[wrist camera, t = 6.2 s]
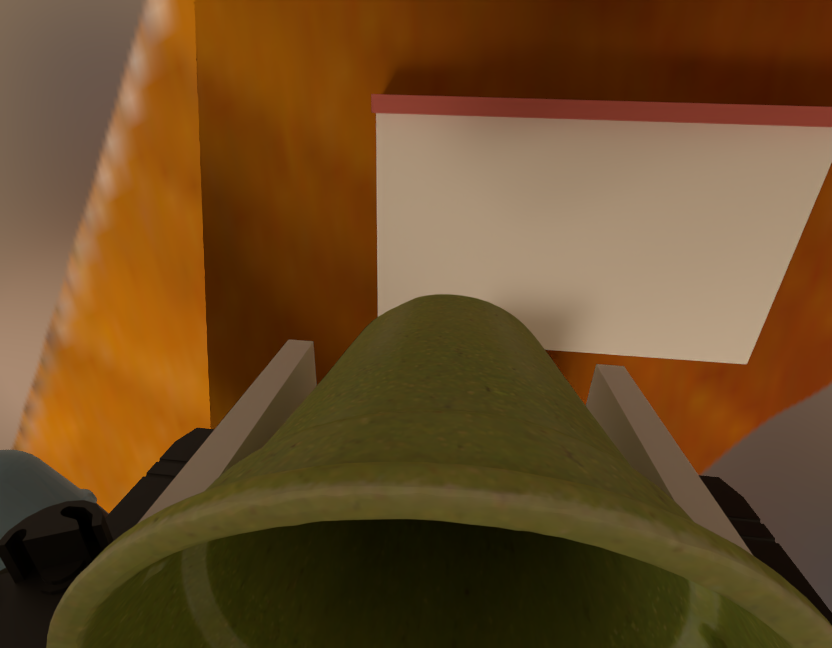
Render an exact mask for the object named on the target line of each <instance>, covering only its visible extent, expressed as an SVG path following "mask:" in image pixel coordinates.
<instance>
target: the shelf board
mask: <svg viewBox="0 0 832 648" xmlns="http://www.w3.org/2000/svg"><path fill="white" fill-rule="evenodd" d="M371 102H372V113H376V166H377V281H378V317H379V316H380V315H382V314H384V313H385V312H387V311H389V310H391V309H393V308H395V307H397V306H399V305H401V304H403V303H405V302H408V301H410V300H412V299H414V298H417V297H421V296H426V295H435V294H452V295H462V296H468V297H473V298H477V299H480V300H484V301H487V302H490V303H492V304H494V305H496V306H498V307H500V308H502V309H504V310H505V311H507V312H509V313H510V314H512V315H513V316H515V317H516V318H517V319H518V320H519V321H521V322H522V323H523V324H524V325H525V326H526V327H527V328H528V329H529V330H530V331H531V333H532V334H533V335H534V336H535V337H536V339H537V340H538V341H539V342H540V344H541V345H542V347H543V348H544V349H545V350H556V351H570V352H584V353H598V354H611V355H625V356H639V357H653V358H667V359H681V360H695V361H709V362H722V363H736V364H747V363H748V360H749V358H750V355H751V353H752V351H753V348H754V346H755V344H756V341H757V339H758V336H759V334H760V332H761V329H762V327H763V325H764V322H765V320H766V317H767V315H768V313H769V310H770V308H771V305H772V303H773V301H774V298H775V296H776V294H777V291H778V289H779V286H780V284H781V282H782V279H783V277H784V275H785V272H786V270H787V267H788V265H789V263H790V260H791V258H792V256H793V253H794V251H795V248H796V246H797V244H798V241H799V239H800V236H801V234H802V232H803V229H804V227H805V225H806V222H807V220H808V217H809V215H810V213H811V210H812V208H813V206H814V203H815V201H816V198H817V196H818V194H819V191H820V189H821V187H822V184H823V182H824V179H825V177H826V175H827V172H828V170H829V167H830V165H831V163H832V107H818V106H782V105H746V104H710V103H674V102H638V101H602V100H566V99H530V98H494V97H458V96H422V95H386V94H371Z"/></svg>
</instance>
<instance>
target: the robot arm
mask: <svg viewBox="0 0 832 648" xmlns="http://www.w3.org/2000/svg"><path fill="white" fill-rule="evenodd" d="M316 386H317V382H316V369H315V355H314V342H313V341H303V340H290V339H289V340H288V341H287V342H286V343H285V344H284V346H283V347H282V348H281V349H280V351H279V352H278V353H277V354H276V355H275V357H274V358H273V359H272V360H271V362H270V363H269V364H268V365H267V366H266V368H265V369H264V370H263V371H262V372H261V374H260V375H259V376H258V377H257V379H256V380H255V381H254V382H253V383H252V385H251V386H250V387H249V388H248V389H247V391H246V392H245V393H244V394H243V396H242V397H241V398H240V399H239V400H238V402H237V403H236V404H235V405H234V406H233V408H232V409H231V410H230V411H229V413H228V414H227V415H226V416H225V417H224V419H223V420H222V421H221V422H220V424H219V425H218V426H217V427H216V428H215V429H205V428H196V429H194V430H193V431H191V432H189V433H188V434H186V435H185V436H183V437H182V438H180V439H178V440H177V441H175V442H174V444H173V445H172V446H171V447H170V448H169V449H168V450H167V451H166V452H165V453H164V454H163V456H162V457H161V458H160V461H159V462H156V463H155V464H154V465H153V466H152V468H151V469H150V470H149V471H148V472H147V475H146V477H142V478H141V480H140V481H139V482H138V483H137V484H136V485H135V486H134V487H133V488H132V489H131V490H130V492H129V493H128V494H127V495H126V496H125V497H124V498H123V499H122V500H121V501H120V502H119V504H118V505H117V506H116V507H115V508H114V509H113V510H112V511H111V512H110V513H107V512H106V511H105V510H104V509H103V508H101V507H100V506H99V505H98V504H97V503H96V501H97V498H96V497H95V495H94V494H93V493H92V492H91V491H90V490H87V489H79V488H78V487H77V486H75V485H74V484H73V483H71V482H70V481H69V480H67V479H66V478H65V477H63V476H62V475H61V474H59V473H58V472H56V471H55V470H54V469H52V468H51V467H50V466H48V465H47V464H46V463H44V462H43V461H42V460H40V459H39V458H37V457H35V456H34V455H32V454H29V453H26V452H23V451H18V450H0V648H46V646H47V634H48V631H49V626H50V622H51V620H52V617H53V614H54V612H55V610H56V608H57V606H58V604H59V602H60V600H61V599H62V597H63V595H64V594H65V592H66V590H67V589H68V587H69V586H70V585H71V583H72V582H73V581H74V580H75V578H76V577H77V576H78V575H79V574H80V573H81V572H82V571H83V570H84V569H86V568H87V567H88V566H89V565H90V564H91V563H92V561H93V560H94V559H95V558H96V557H97V556H98V555H99V554H100V553H101V552H102V551H103V550H104V549H105V548H106V547H107V546H108V545H110V544H111V543H112V542H113V541H114V540H116V539H117V538H118V537H119V536H121V535H122V534H123V533H125V532H126V531H128V530H129V529H131V528H132V527H133V526H135V525H136V524H138V523H139V522H141V521H143V520H144V519H146V518H148V517H150V516H152V515H153V514H155V513H157V512H159V511H161V510H162V509H164V508H166V507H168V506H171V505H173V504H175V503H177V502H180V501H182V500H184V499H186V498H189V497H191V496H194V495H196V494H199V493H202V492H204V491H205V490H206V489H207V488H208V487H209V486H210V485H211V484H212V483H213V482H214V481H215V480H216V479H218V478H219V477H220V476H221V475H222V474H223V473H225V472H226V471H227V470H228V469H229V468H231V467H232V466H233V465H235V464H236V463H238V462H239V461H241V460H242V459H244V458H245V457H247V456H248V455H250V454H252V453H253V452H255V451H257V450H259V449H261V448H262V447H263V446H264V445H265V444H266V443H267V442H268V441H269V439H270V438H271V437H272V436H273V435H274V434H275V433H276V432H277V430H278V429H279V428H280V427H281V426H282V425H283V424H284V422H285V421H286V420H287V419H288V418H289V417H290V416H291V415H292V413H293V412H294V411H295V410H296V409H297V408H298V407H299V405H300V404H301V403H302V402H303V401H304V400H305V399H306V398H307V396H308V395H309V394H310V393H311V392H312V391H313V390H314V388H315V387H316ZM586 407H587V408H588V410H589V411H590V412H591V414H592V415H593V416H594V418H595V419H596V420H597V422H598V423H599V424H600V426H601V427H602V428H603V430H604V431H605V432H606V434H607V435H608V436H609V438H610V439H611V440H612V442H613V443H614V444H615V446H616V447H617V448H618V450H619V451H620V452H621V453H622V455H623V456H624V457H625V459H626V460H627V461H628V463H629V464H630V465H631V467H632V468H633V469H635V470H636V471H638V472H639V473H641V474H642V475H643V476H645V477H646V478H647V479H649V480H650V481H652V482H653V483H654V484H656V485H657V486H658V487H659V488H660V489H662V490H663V491H664V492H665V493H666V494H667V495H668V496H669V497H670V498H671V499H673V500H674V501H675V502H676V503H677V504H678V505H679V506H680V507H681V508H682V509H683V510H684V511H685V512H686V513H687V515H688V516H689V517H690V518H691V519H692V520H693V521H694V522H695V523H697V524H699V525H701V526H702V527H704V528H706V529H708V530H710V531H712V532H714V533H715V534H717V535H719V536H721V537H723V538H725V539H727V540H729V541H730V542H732V543H734V544H736V545H738V546H740V547H741V548H743V549H744V550H746V551H747V552H749V553H750V554H751V555H753V556H754V557H756V558H757V559H759V560H760V561H762V562H763V563H765V564H766V565H767V566H769V567H770V568H771V569H773V570H774V571H776V572H777V573H778V574H780V575H781V576H782V577H783V578H784V579H785V580H787V581H788V582H789V583H790V584H791V585H792V586H794V587H795V588H796V589H797V590H798V591H799V592H800V593H802V594H803V595H804V596H805V597H806V598H807V599H808V600H809V601H810V602H811V603H812V604H813V605H814V606H815V607H816V608H817V609H818V610H819V612H820V613H821V614H822V615H823V616H824V617H825V618H826V619H827V620H828V621H829V623H830V624H831V625H832V612H831V611H830V610H829V609H828V607H827V606H826V605H825V603H824V602H823V601H822V599H821V598H820V597H819V596H818V594H817V593H816V592H815V590H814V589H813V588H812V586H811V585H810V584H809V582H808V581H807V580H806V579H805V577H804V576H803V575H802V573H801V572H800V571H799V569H798V568H797V567H796V565H795V564H794V563H793V562H792V560H791V559H790V558H789V556H788V555H787V554H786V552H785V551H784V550H783V548H782V547H781V546H780V545H779V544H778V543H775V538H774V537H773V535H772V534H771V533H770V531H769V530H768V529H767V528H766V526H765V525H764V524H761V523H760V518H759V517H758V516H757V515H756V513H755V512H754V511H753V509H752V508H751V507H750V506H749V504H748V503H747V501H746V500H745V499H744V497H742V496H741V495H740V494H738V493H737V492H736V491H735V490H734V489H733V488H731V487H730V486H729V485H728V484H726V483H725V482H724V481H723V480H722V479H720V478H719V477H709V476H700V475H698V474H697V473H696V471H695V470H694V468H693V467H692V465H691V464H690V462H689V461H688V459H687V458H686V457H685V455H684V454H683V452H682V451H681V449H680V448H679V446H678V445H677V443H676V442H675V440H674V439H673V438H672V436H671V435H670V433H669V432H668V430H667V429H666V427H665V426H664V424H663V423H662V421H661V420H660V418H659V417H658V416H657V414H656V413H655V411H654V410H653V408H652V407H651V405H650V404H649V402H648V401H647V399H646V398H645V397H644V395H643V394H642V392H641V391H640V389H639V388H638V386H637V385H636V383H635V382H634V380H633V379H632V378H631V376H630V375H629V373H628V372H627V370H626V369H625V367H624V366H613V365H601V364H596V367H595V371H594V375H593V379H592V383H591V387H590V391H589V395H588V399H587V403H586Z"/></svg>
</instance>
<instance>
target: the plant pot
mask: <svg viewBox="0 0 832 648" xmlns="http://www.w3.org/2000/svg"><path fill="white" fill-rule="evenodd" d="M46 648H832V625H831V624H830V623H829V621H828V620H827V619H826V618H825V617H824V616H823V615H822V614H821V613H820V612H819V610H818V609H817V608H816V607H815V606H814V605H813V604H812V603H811V602H810V601H809V600H808V599H807V598H806V597H805V596H804V595H803V594H802V593H800V592H799V591H798V590H797V589H796V588H795V587H794V586H792V585H791V584H790V583H789V582H788V581H787V580H785V579H784V578H783V577H782V576H781V575H780V574H778V573H777V572H776V571H774V570H773V569H771V568H770V567H769V566H767V565H766V564H765V563H763V562H762V561H760V560H759V559H757V558H756V557H754V556H753V555H751V554H750V553H749V552H747V551H746V550H744V549H743V548H741V547H740V546H738V545H736V544H734V543H732V542H730V541H729V540H727V539H725V538H723V537H721V536H719V535H717V534H715V533H714V532H712V531H710V530H708V529H706V528H704V527H702V526H701V525H699V524H697V523H695V522H694V521H693V520H692V519H691V518H690V517H689V516H688V515H687V513H686V512H685V511H684V510H683V509H682V508H681V507H680V506H679V505H678V504H677V503H676V502H675V501H674V500H673V499H671V498H670V497H669V496H668V495H667V494H666V493H665V492H664V491H663V490H662V489H660V488H659V487H658V486H657V485H656V484H654V483H653V482H652V481H650V480H649V479H647V478H646V477H645V476H643V475H642V474H641V473H639V472H638V471H636V470H635V469H633V468H632V467H631V465H630V464H629V463H628V461H627V460H626V459H625V457H624V456H623V455H622V453H621V452H620V451H619V450H618V448H617V447H616V446H615V444H614V443H613V442H612V440H611V439H610V438H609V436H608V435H607V434H606V432H605V431H604V430H603V428H602V427H601V426H600V424H599V423H598V422H597V420H596V419H595V418H594V416H593V415H592V414H591V412H590V411H589V410H588V408H587V407H586V406H585V404H584V403H583V402H582V400H581V399H580V398H579V396H578V395H577V394H576V392H575V391H574V389H573V388H572V387H571V385H570V384H569V383H568V381H567V380H566V379H565V377H564V376H563V374H562V373H561V372H560V370H559V369H558V367H557V366H556V364H555V363H554V362H553V360H552V359H551V357H550V356H549V355H548V353H547V352H546V351H545V349H544V348H543V347H542V345H541V344H540V342H539V341H538V340H537V339H536V337H535V336H534V335H533V334H532V333H531V331H530V330H529V329H528V328H527V327H526V326H525V325H524V324H523V323H522V322H521V321H519V320H518V319H517V318H516V317H515V316H513V315H512V314H510V313H509V312H507V311H505V310H504V309H502V308H500V307H498V306H496V305H494V304H492V303H490V302H487V301H484V300H480V299H477V298H473V297H468V296H462V295H452V294H435V295H426V296H421V297H417V298H414V299H412V300H410V301H408V302H405V303H403V304H401V305H399V306H397V307H395V308H393V309H391V310H389V311H387V312H385V313H384V314H382V315H380V316H379V317H377V318H376V319H375V320H373V321H372V322H371V323H370V324H369V325H368V326H367V327H366V328H365V329H364V330H363V331H362V332H361V334H360V335H359V336H358V337H357V338H356V339H355V341H354V342H353V343H352V344H351V345H350V346H349V348H348V349H347V350H346V351H345V353H344V354H343V355H342V356H341V357H340V359H339V360H338V361H337V362H336V364H335V365H334V366H333V367H332V369H331V370H330V371H329V372H328V373H327V375H326V376H325V377H324V378H323V379H322V380H321V382H320V383H319V384H318V385H317V386H316V387H315V388H314V390H313V391H312V392H311V393H310V394H309V395H308V396H307V398H306V399H305V400H304V401H303V402H302V403H301V404H300V405H299V407H298V408H297V409H296V410H295V411H294V412H293V413H292V415H291V416H290V417H289V418H288V419H287V420H286V421H285V422H284V424H283V425H282V426H281V427H280V428H279V429H278V430H277V432H276V433H275V434H274V435H273V436H272V437H271V438H270V439H269V441H268V442H267V443H266V444H265V445H264V446H263V447H262V448H261V449H259V450H257V451H255V452H253V453H252V454H250V455H248V456H247V457H245V458H244V459H242V460H241V461H239V462H238V463H236V464H235V465H233V466H232V467H231V468H229V469H228V470H227V471H226V472H225V473H223V474H222V475H221V476H220V477H219V478H218V479H216V480H215V481H214V482H213V483H212V484H211V485H210V486H209V487H208V488H207V489H206V490H205V491H204V492H202V493H199V494H196V495H194V496H191V497H189V498H186V499H184V500H182V501H180V502H177V503H175V504H173V505H171V506H168V507H166V508H164V509H162V510H161V511H159V512H157V513H155V514H153V515H152V516H150V517H148V518H146V519H144V520H143V521H141V522H139V523H138V524H136V525H135V526H133V527H132V528H131V529H129V530H128V531H126V532H125V533H123V534H122V535H121V536H119V537H118V538H117V539H116V540H114V541H113V542H112V543H111V544H110V545H108V546H107V547H106V548H105V549H104V550H103V551H102V552H101V553H100V554H99V555H98V556H97V557H96V558H95V559H94V560H93V561H92V563H91V564H90V565H89V566H88V567H87V568H86V569H84V570H83V571H82V572H81V573H80V574H79V575H78V576H77V577H76V578H75V580H74V581H73V582H72V583H71V585H70V586H69V587H68V589H67V590H66V592H65V594H64V595H63V597H62V599H61V600H60V602H59V604H58V606H57V608H56V610H55V612H54V614H53V617H52V620H51V622H50V626H49V631H48V634H47V646H46Z"/></svg>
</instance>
